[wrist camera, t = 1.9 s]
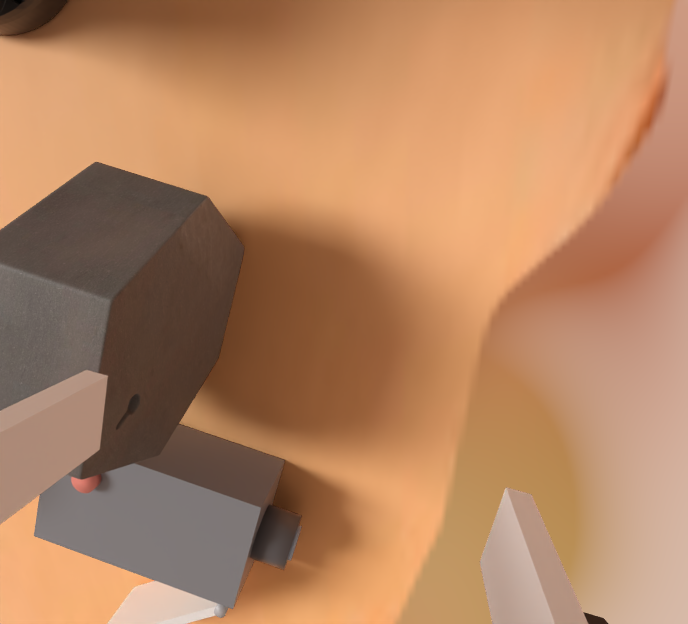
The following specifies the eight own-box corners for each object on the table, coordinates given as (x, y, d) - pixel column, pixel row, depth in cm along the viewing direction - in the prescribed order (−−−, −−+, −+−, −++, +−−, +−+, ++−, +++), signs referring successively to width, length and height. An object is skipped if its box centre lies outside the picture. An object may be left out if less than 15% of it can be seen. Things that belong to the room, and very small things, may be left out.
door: (143, 598, 47) (101, 658, 41) (135, 583, 47) (92, 642, 40) (257, 564, 44) (231, 623, 38) (249, 549, 44) (222, 606, 38)
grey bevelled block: (143, 125, 32) (-148, 333, 18) (245, 156, 32) (25, 394, 18) (171, 291, 45) (9, 491, 31) (244, 315, 44) (114, 530, 30)
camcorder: (89, 488, 45) (26, 543, 38) (105, 398, 43) (40, 438, 35) (291, 560, 44) (267, 632, 36) (319, 471, 42) (299, 529, 34)
